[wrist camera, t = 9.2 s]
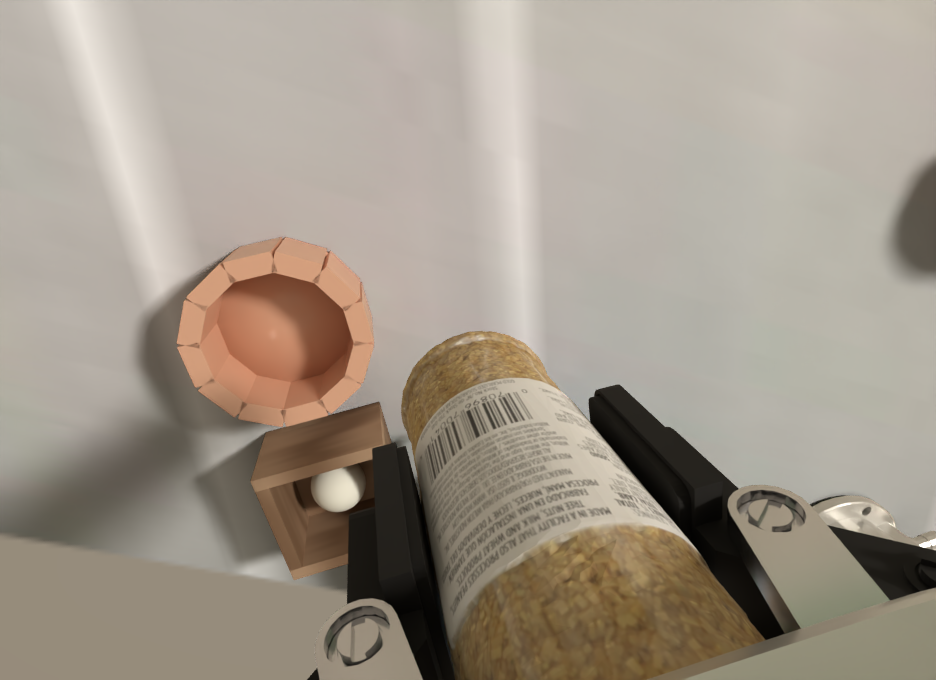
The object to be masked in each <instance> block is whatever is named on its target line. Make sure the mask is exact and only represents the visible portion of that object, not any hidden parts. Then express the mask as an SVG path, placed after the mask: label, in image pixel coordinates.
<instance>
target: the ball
mask: <svg viewBox="0 0 936 680" xmlns="http://www.w3.org/2000/svg"><path fill="white" fill-rule="evenodd" d="M365 486H366V479H365V474H364V472H363V470H362V468H361V467H360V466H359V464H354V465H350V466H346V467H343V468H339V469H336V470H332V471H329V472H325V473H322V474H318V475H315V476H312V480H311V493H312V496H313V498H314V500H315V501H316V503H317V504H318V505H319V506H320V507H322V508H323V509H325V510H327V511H330V512H343V511H346V510H348V509H350V508H352V507H354V506H355V505H356V504H357V503H358V502H359V501H360V499H361V498H362V496H363V494H364V491H365Z"/></svg>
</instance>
